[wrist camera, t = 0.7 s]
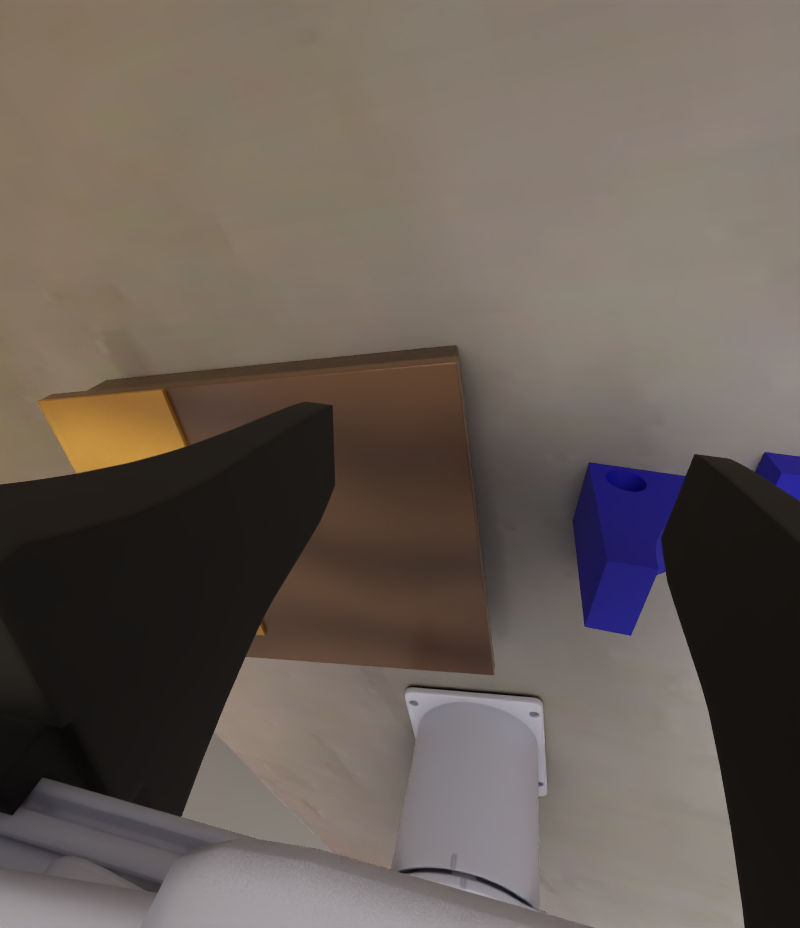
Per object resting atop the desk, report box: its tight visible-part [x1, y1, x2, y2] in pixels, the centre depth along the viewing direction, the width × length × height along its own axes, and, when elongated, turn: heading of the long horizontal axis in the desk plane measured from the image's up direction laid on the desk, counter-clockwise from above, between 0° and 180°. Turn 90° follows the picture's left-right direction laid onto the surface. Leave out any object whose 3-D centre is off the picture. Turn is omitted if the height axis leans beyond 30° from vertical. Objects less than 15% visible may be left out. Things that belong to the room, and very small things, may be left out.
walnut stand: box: [37, 345, 495, 675], centre depth 23 cm, size 15×17×4 cm
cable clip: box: [573, 452, 800, 636], centre depth 18 cm, size 12×4×6 cm, turn 88°
